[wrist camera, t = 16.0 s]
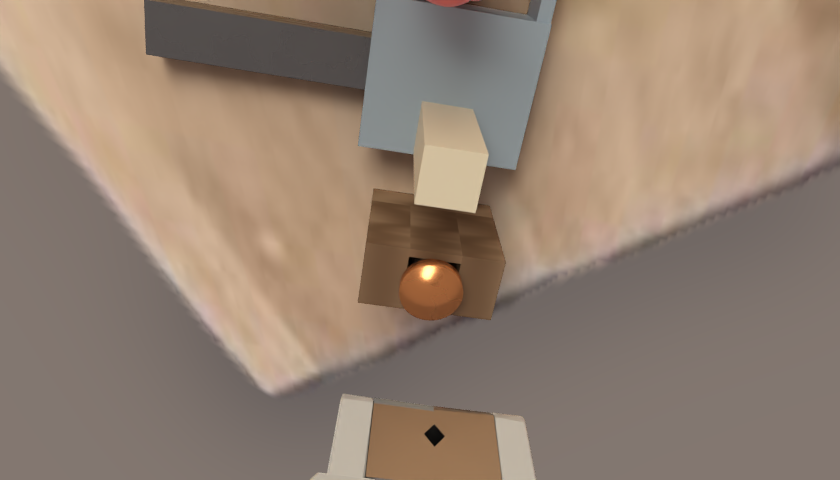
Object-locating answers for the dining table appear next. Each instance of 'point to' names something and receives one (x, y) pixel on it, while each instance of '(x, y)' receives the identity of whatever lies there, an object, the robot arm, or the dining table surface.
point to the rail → (257, 42)
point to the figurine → (450, 2)
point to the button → (430, 289)
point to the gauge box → (431, 250)
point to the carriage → (452, 91)
